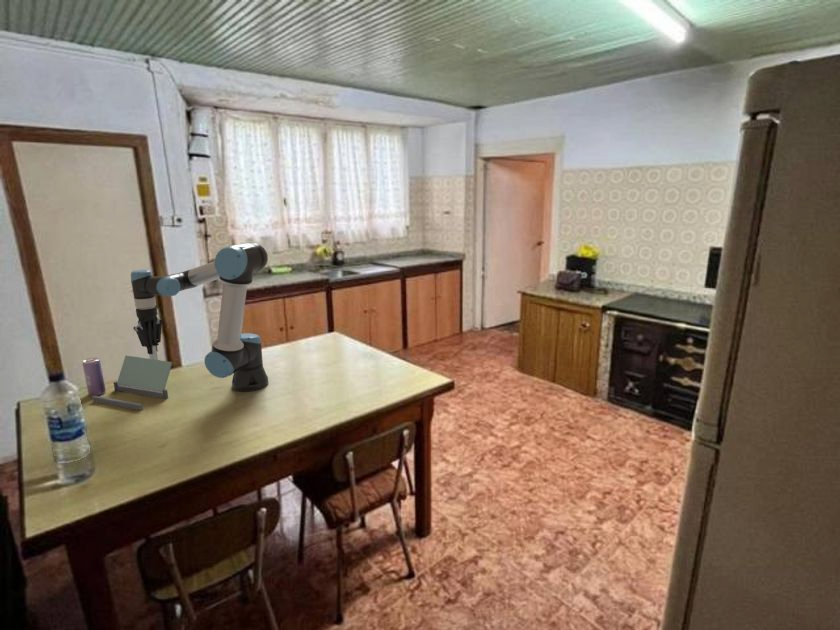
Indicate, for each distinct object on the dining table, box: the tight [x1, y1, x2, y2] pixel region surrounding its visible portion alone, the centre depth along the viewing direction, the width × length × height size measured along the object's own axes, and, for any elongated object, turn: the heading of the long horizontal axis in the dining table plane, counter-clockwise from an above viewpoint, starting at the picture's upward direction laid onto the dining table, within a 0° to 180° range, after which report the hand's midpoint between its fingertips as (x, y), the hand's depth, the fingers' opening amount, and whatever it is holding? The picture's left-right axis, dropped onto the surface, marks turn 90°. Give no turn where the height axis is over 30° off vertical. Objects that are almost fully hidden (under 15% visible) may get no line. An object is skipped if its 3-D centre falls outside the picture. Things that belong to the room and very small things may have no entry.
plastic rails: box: [92, 381, 169, 411], centre depth 185 cm, size 27×12×4 cm, turn 74°
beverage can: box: [82, 357, 107, 397], centre depth 189 cm, size 6×6×15 cm
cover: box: [116, 355, 173, 392], centre depth 192 cm, size 24×13×1 cm
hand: (153, 360), depth 196 cm, fingers closed
